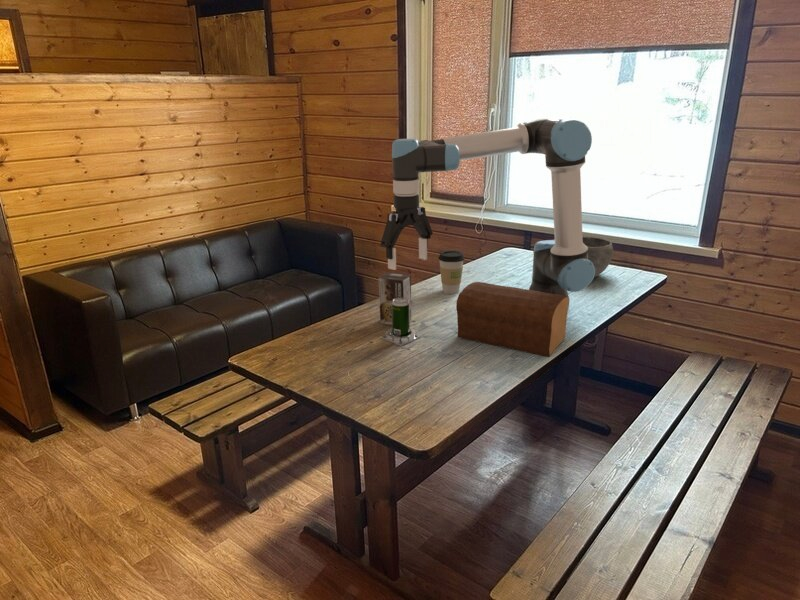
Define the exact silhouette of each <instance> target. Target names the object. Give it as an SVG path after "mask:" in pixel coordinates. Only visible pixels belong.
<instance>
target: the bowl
mask: <svg viewBox="0 0 800 600" xmlns="http://www.w3.org/2000/svg"><path fill="white" fill-rule="evenodd" d="M582 238H583V243H584V244H585V245H586V246H587V247H588V260H590V261H591V262H592V264H593V265H594V268H595V275H594V278H596V277H598V276H599V275H600V274H602V273H604V272H605V270H606V269H607V268H608V266H609V265H610V263H611V261H612V258H613V255H614V247H613V243H612V241H610V240H607V239H605V238H601V237H595V236H593V237H592V236H591V237H590V236H582Z"/></svg>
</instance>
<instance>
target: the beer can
mask: <svg viewBox="0 0 800 600" xmlns="http://www.w3.org/2000/svg"><path fill="white" fill-rule="evenodd" d="M392 301H393V302H392V325H391V328H392V334H393V336H397V337H403V336H408V335H409V334H410V328H411V326H410V323H411V322H409V300H408V299H407V298H403V297H398V298H394V299H393V300H392Z"/></svg>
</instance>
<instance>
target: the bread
mask: <svg viewBox="0 0 800 600" xmlns="http://www.w3.org/2000/svg"><path fill="white" fill-rule="evenodd" d="M568 306H569V307H570V297H569V298H568V297H567V296H563V295H557V294H550V293H544V292H539V291H534V290H529V289H527V288H526V289H524V288H520V287H513V286H507V285H501V284H494V283H487V282H483V281H475V282H474V281H473V282H471V283H470V284H468V285H467V286H465V287H464V288H463V289H462V290H461V291H460V292H459V293H458V296H457V298H456V308H455V309H456V315H457V338H461V339H464V340H467V341H468V340H469V341H473V342H478V343H483V344H487V345H491V346H496V347H501V348H505V349H509V350H515V351H520V352H524V353H530V354H534V355H539V356H544V357H551V356H552V353H554V351H555V350H556V348H557V347H558V346H559V345H560V344H561V343H562V342H563V340H564V339H565V337H566V328H567V317H568V310H569V307H568Z"/></svg>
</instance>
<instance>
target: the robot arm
mask: <svg viewBox="0 0 800 600" xmlns="http://www.w3.org/2000/svg"><path fill="white" fill-rule="evenodd" d="M592 138H593V136H592V132H591V130H590V128H589V127H588V126H587V124H586V123H585V122H583V121H581V120H580V119H576V118H573V117H564V116H563V117H562V116H561V117H559V116H558V117H557V116H546V117H543V118H539V119H535V120H534V119H533V120H531V121H526V122H525V121H524V122H520V123H518V124H517V125H516V127H509V128H503V129H495V130H491V131H490V130H489V131H483V132H477V133H470V134H465V135H458V136H452V137H445V138H440V139H439V138H437V139H431V140H429V139H428V140H427V139H424V140H423V139H422V140H419V141H418V139H416V138H399V139H395V140H393V141H392V145H391V147H392V148H391V162H392V164H391V165H392V166H391V167H392V190H393V191H392V193H393V194H394V195H392V197H393V207H394V209H395V213H389V212H388V213H387V216H386V217H387V218H386V224H385V227H384V231H383V234H382V237H381V240H380V244H379V245H380V247H381V248H384V249H385V251H386V253H385V255H386V259H387V269H388V270H393V271H395V270H397V254H396V253H397V250H396V249H397V248H396V247H395V245H396V243H397V241H398V239H399V236H401V233H402V231H403V230H404V229H405V228H406V227H409V226H413V228H414V229H415V231H416V232H417V234H418V235H419V236H420V237H418V259H420V260H424V261H427V260H428V247H429V239H431V238H432V237H431V236H433V229H432V227H431V225H430V221H429V219H428V217H427V215H426V208H425V207H424V206H420V195H419V193H420V173H432V172H433V173H434V172H436V173H437V172H449V171H456V170H457V169H458V168H459V166H460V162H461V161H466V160H467V161H468V160H472V159H480V158H486V157H492V156H498V155H499V156H500V155H506V154H512V153H518V152H519V153H520V154H522V155H527V154H541V155H545V156H544V157H545V167H546V168H547V169H548V170H550V173H551V175H550V176H551V193H552V210H553V211H552V213H553V227H554V228H553V230H554V231H553V233H554V239H547V240H546V239H545V240H540V241H537V242H535V244H534V247H533V248H534V249H533V256H532V275H531V276H532V277H531V283H530V286H529V289H528V290H534V291H539V292H544V293H550V294H557V295H563V296H567V297H568V298H569V299H570V296H569V292H570V293H576V292H581V291H583V290H584V289H586V288H587V287H588V286H589V285H590V284H591V283H592V282H593V280H594V278H595V277H594V275H595V268H594V265H593V264H592V262H591V261H590V260H588V247H587V246H586V245H585V244H584V243H583V238H582V237H583V212H582V211H583V210H582V185H581V184H582V183H581V182H582V180H581V179H582V177H581V168H582V167H583V166H584V164H585V163H586V156H587V154H588V152H589V151H590V149H591V147H592V143H593V141H592V140H593V139H592ZM569 307H570V305H569V306H568V308H569Z"/></svg>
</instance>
